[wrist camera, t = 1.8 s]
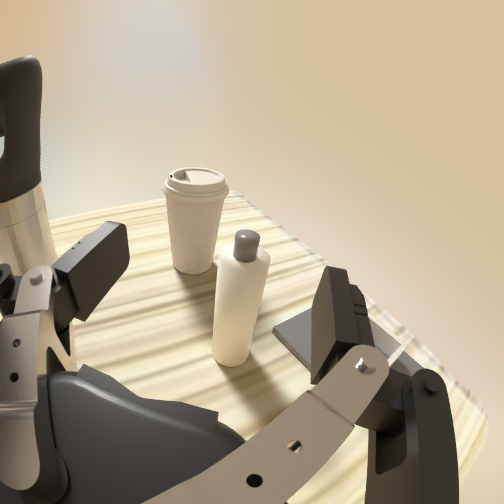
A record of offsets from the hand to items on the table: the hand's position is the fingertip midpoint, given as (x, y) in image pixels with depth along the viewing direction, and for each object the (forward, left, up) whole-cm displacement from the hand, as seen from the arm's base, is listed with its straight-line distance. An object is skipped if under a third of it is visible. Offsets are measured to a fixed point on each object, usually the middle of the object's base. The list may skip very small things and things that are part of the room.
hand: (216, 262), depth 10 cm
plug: (-8, +8, -21) cm, 24 cm away
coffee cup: (-26, +12, -21) cm, 36 cm away
